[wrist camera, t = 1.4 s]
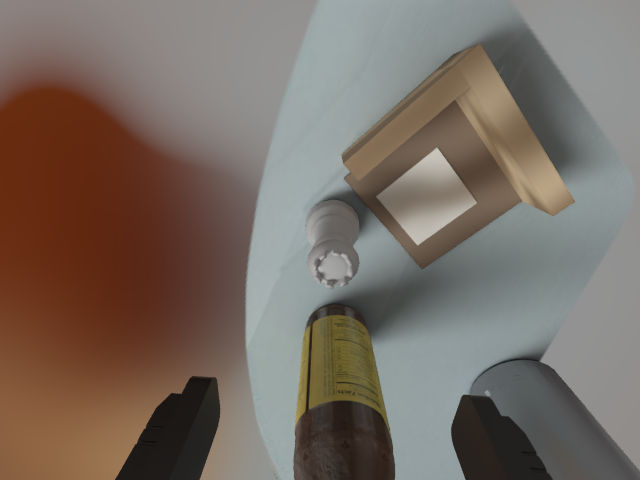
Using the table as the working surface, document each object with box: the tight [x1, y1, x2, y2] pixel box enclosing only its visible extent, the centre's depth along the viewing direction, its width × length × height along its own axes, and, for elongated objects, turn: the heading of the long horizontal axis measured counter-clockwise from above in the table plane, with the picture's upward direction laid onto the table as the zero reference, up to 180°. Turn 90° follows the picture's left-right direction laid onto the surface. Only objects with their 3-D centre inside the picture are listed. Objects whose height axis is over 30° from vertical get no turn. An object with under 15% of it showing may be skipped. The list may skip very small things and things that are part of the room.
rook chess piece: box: [305, 200, 360, 289], centre depth 22 cm, size 4×4×8 cm
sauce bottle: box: [293, 304, 395, 480], centre depth 21 cm, size 6×6×20 cm
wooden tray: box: [342, 44, 575, 269], centre depth 22 cm, size 12×11×4 cm
